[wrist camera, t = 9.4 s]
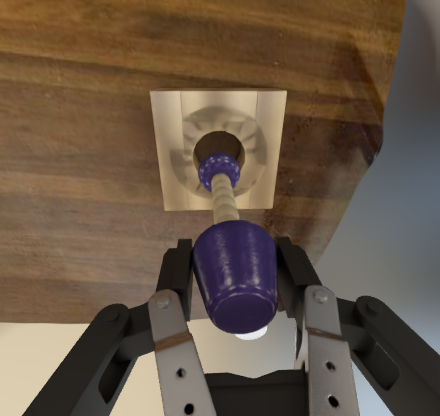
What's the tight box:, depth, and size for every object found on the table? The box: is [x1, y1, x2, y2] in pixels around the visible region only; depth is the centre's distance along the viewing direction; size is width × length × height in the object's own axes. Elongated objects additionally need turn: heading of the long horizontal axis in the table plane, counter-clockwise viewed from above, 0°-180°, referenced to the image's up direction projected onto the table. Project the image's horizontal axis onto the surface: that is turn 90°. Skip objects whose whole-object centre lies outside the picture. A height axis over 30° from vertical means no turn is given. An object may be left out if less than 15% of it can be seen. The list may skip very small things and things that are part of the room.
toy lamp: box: [191, 152, 278, 334], centre depth 17 cm, size 5×5×17 cm
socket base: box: [150, 88, 287, 211], centre depth 30 cm, size 14×14×4 cm
